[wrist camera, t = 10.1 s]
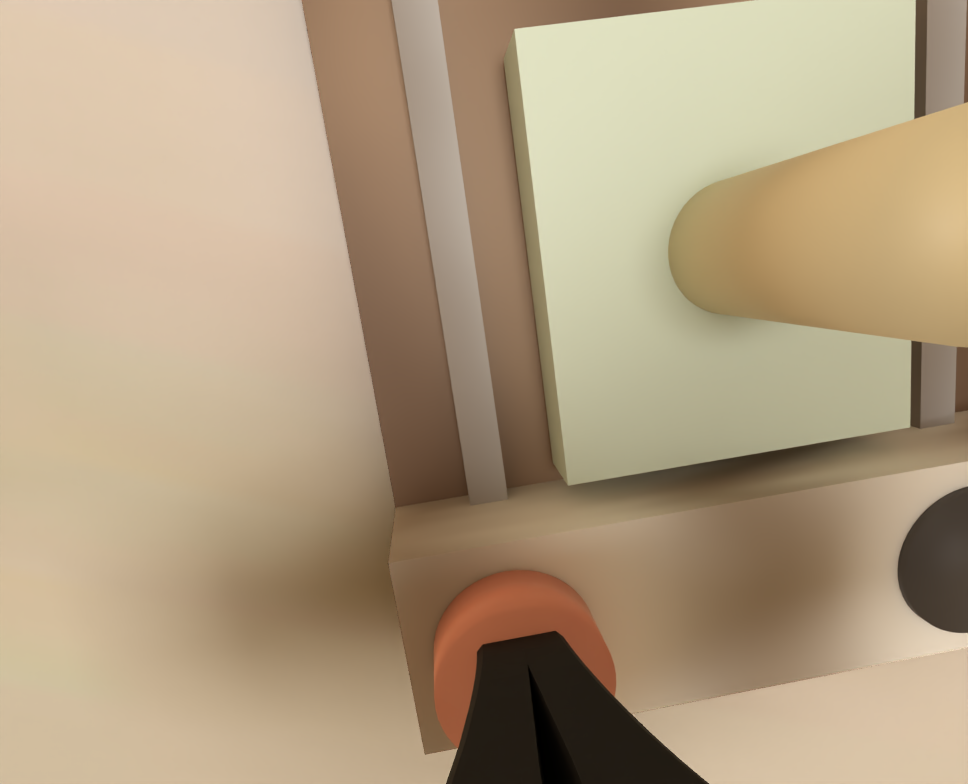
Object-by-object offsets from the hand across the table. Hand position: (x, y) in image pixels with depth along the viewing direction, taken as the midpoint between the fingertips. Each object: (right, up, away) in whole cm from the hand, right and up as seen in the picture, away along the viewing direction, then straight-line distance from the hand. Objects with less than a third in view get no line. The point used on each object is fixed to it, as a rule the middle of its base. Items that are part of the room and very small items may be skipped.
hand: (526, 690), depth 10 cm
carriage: (+4, +8, +2) cm, 9 cm away
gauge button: (0, 0, +1) cm, 1 cm away
